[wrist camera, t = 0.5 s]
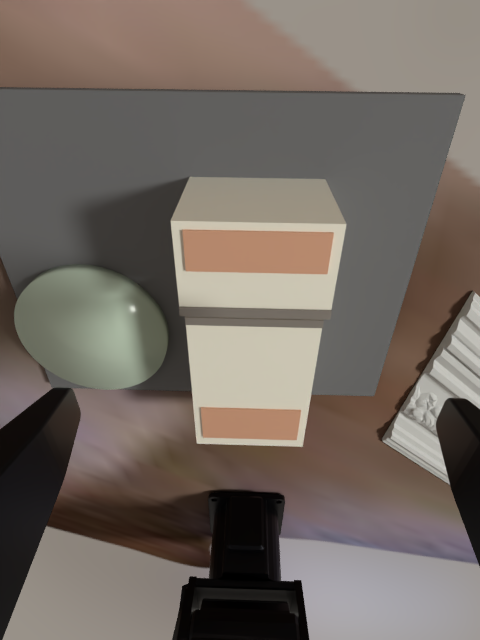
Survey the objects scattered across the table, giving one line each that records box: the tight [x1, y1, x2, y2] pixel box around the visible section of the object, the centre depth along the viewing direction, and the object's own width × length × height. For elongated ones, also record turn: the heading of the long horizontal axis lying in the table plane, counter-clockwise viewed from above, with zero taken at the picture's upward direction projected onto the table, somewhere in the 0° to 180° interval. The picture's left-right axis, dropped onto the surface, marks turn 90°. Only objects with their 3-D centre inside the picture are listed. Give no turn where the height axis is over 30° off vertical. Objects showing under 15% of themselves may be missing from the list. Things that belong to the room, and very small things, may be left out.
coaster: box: [14, 264, 169, 390], centre depth 22 cm, size 8×8×1 cm
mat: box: [0, 87, 465, 396], centre depth 21 cm, size 17×21×1 cm
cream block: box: [171, 177, 347, 320], centre depth 17 cm, size 4×6×5 cm, turn 90°
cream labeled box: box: [185, 316, 324, 447], centre depth 21 cm, size 9×6×4 cm, turn 0°
